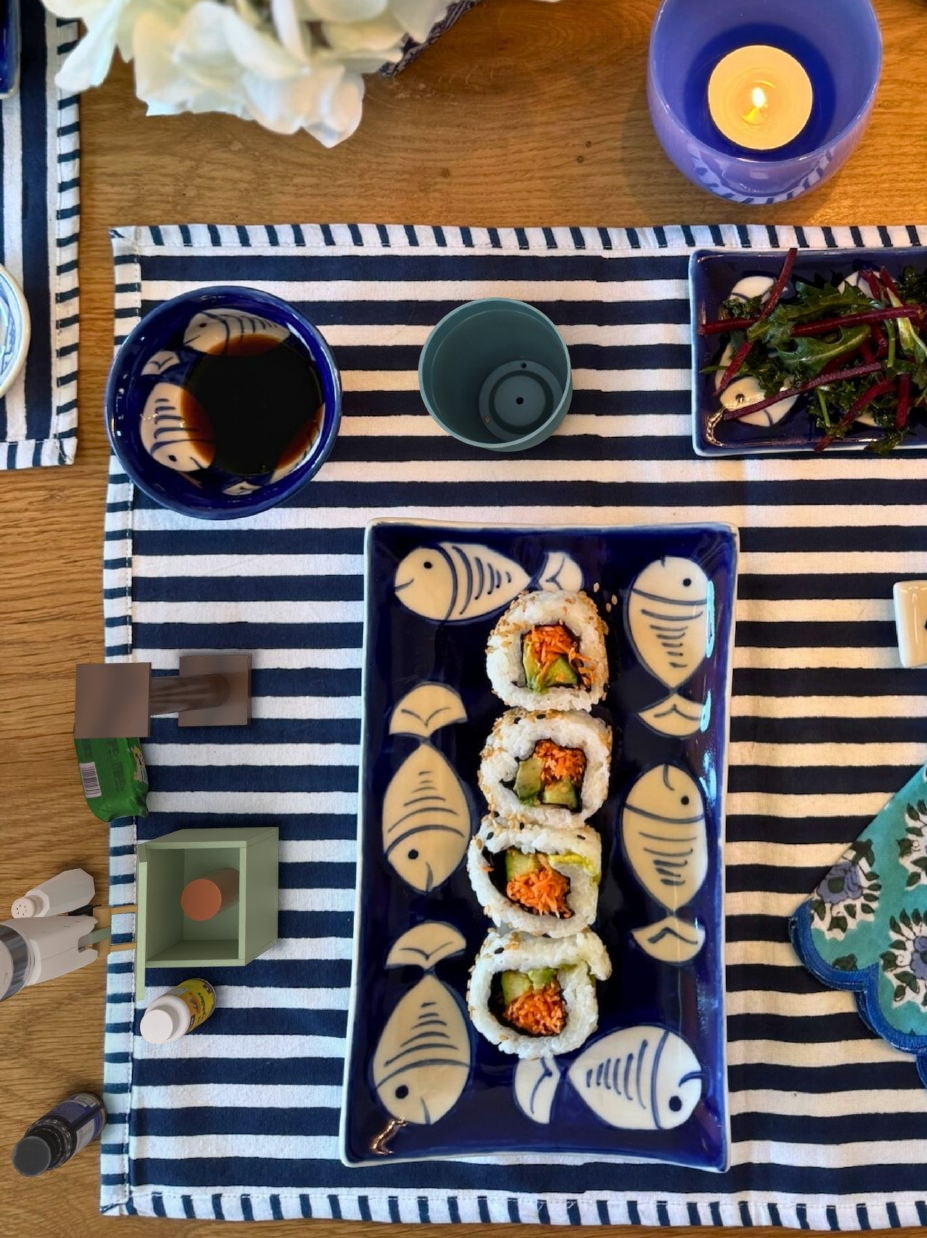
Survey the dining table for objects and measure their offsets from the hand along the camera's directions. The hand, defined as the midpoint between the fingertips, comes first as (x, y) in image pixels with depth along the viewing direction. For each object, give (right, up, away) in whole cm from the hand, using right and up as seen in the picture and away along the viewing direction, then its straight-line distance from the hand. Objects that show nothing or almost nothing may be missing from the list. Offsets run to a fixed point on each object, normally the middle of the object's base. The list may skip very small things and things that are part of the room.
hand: (95, 918), depth 124 cm
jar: (+9, -1, +15) cm, 17 cm away
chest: (+9, -1, +16) cm, 18 cm away
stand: (+6, +24, +18) cm, 30 cm away
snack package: (-6, +15, +18) cm, 23 cm away
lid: (+6, 0, 0) cm, 6 cm away
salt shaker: (-11, -2, +16) cm, 20 cm away
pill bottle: (-9, -30, +14) cm, 34 cm away
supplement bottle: (+5, -15, +15) cm, 22 cm away
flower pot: (+45, +61, +21) cm, 79 cm away
